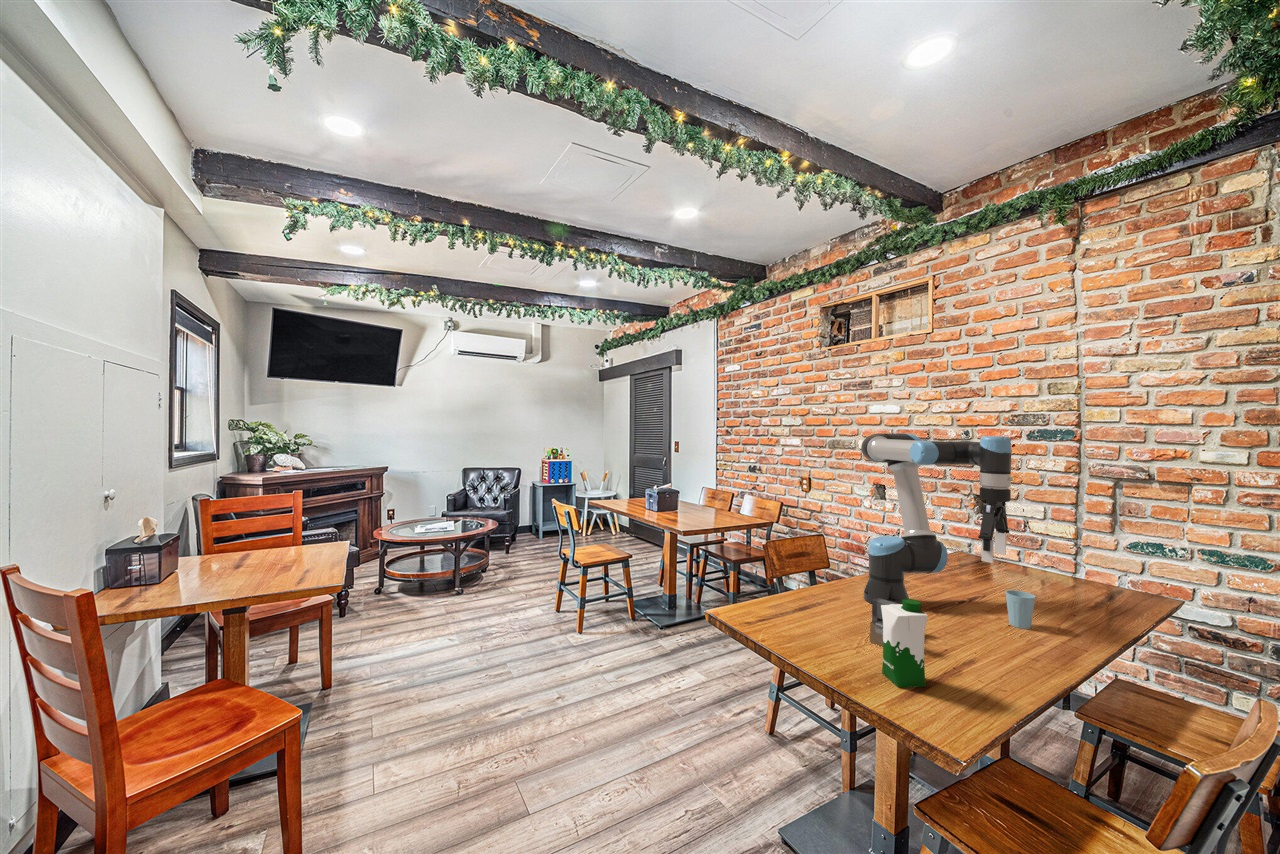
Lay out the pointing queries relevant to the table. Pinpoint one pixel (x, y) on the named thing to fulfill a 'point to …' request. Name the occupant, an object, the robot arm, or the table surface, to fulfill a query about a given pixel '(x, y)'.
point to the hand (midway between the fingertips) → (993, 557)
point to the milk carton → (904, 643)
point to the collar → (878, 608)
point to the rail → (876, 632)
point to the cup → (1020, 608)
